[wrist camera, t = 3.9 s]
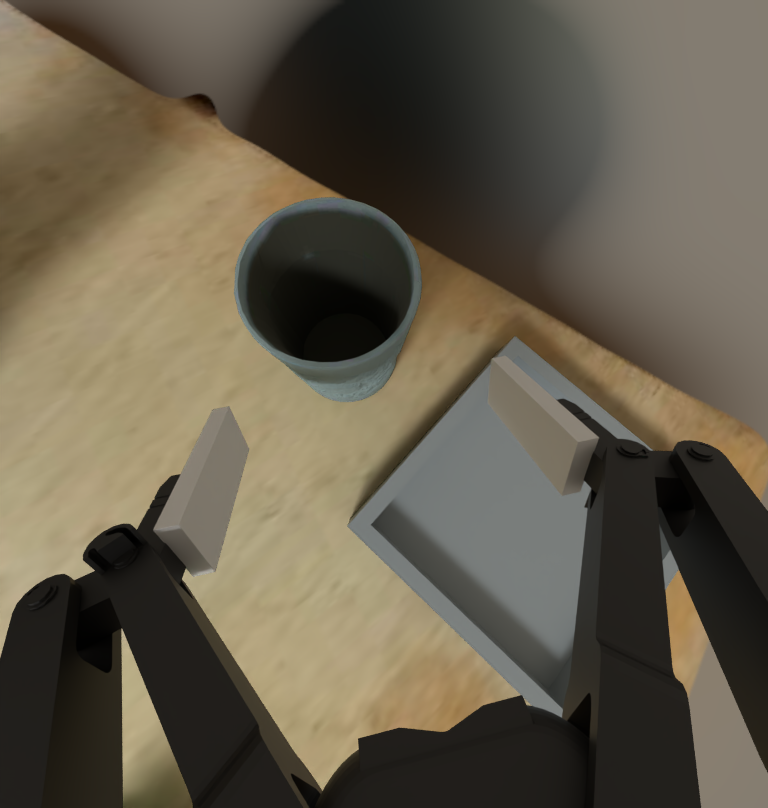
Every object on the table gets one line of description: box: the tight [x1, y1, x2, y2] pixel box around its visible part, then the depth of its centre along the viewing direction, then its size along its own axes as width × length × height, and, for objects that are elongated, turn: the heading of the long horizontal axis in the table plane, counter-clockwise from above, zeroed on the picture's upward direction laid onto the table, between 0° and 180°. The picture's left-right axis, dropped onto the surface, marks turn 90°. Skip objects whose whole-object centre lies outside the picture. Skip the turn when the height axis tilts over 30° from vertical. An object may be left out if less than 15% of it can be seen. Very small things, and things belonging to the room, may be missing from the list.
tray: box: [347, 336, 678, 718], centre depth 25 cm, size 20×20×3 cm
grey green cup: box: [234, 197, 422, 402], centre depth 23 cm, size 10×10×12 cm
